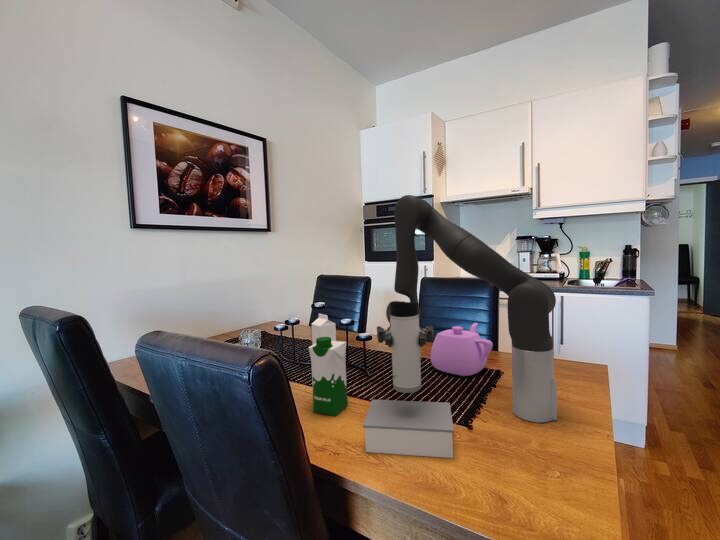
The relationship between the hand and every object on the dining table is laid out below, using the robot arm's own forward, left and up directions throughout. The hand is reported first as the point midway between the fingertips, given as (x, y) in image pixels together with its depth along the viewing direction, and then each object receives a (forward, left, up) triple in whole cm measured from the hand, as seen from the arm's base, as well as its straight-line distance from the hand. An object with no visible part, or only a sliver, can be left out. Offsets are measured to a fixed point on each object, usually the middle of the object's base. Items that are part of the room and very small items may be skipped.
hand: (405, 342), depth 74 cm
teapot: (-15, -49, -23) cm, 56 cm away
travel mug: (0, -2, -11) cm, 11 cm away
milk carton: (+22, -15, -23) cm, 35 cm away
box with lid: (0, -2, -23) cm, 23 cm away
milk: (+30, -37, -23) cm, 53 cm away
